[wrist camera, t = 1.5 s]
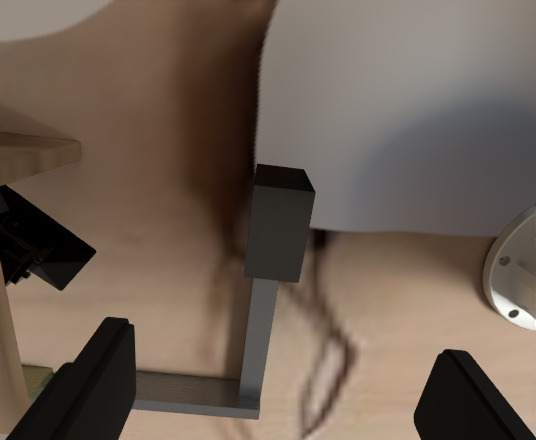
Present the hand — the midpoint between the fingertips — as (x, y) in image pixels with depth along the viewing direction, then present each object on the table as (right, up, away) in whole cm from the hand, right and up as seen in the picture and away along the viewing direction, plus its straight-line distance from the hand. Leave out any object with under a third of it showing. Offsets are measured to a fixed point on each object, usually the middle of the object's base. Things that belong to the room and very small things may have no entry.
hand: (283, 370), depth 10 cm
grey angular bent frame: (-7, -1, +18) cm, 19 cm away
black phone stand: (-20, +3, +16) cm, 26 cm away
